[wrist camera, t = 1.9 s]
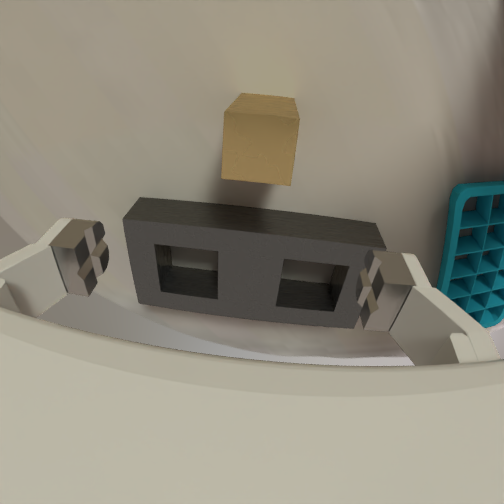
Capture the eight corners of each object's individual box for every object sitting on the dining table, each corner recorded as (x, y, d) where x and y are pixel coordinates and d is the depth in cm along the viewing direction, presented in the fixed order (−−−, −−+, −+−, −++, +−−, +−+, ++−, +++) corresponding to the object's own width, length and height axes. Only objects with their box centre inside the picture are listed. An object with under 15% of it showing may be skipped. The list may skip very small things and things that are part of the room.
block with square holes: (375, 223, 28) (386, 248, 24) (348, 301, 34) (353, 328, 30) (139, 197, 28) (122, 218, 25) (150, 278, 34) (138, 303, 31)
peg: (294, 98, 22) (299, 119, 16) (288, 145, 24) (290, 186, 18) (241, 92, 22) (224, 111, 16) (238, 140, 24) (221, 178, 18)
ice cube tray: (421, 323, 36) (427, 341, 33) (442, 174, 24) (457, 188, 22) (492, 307, 33) (501, 323, 31) (528, 170, 22) (544, 182, 20)
